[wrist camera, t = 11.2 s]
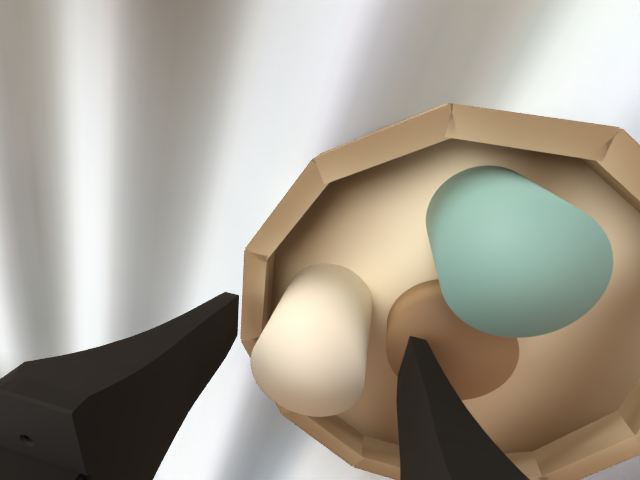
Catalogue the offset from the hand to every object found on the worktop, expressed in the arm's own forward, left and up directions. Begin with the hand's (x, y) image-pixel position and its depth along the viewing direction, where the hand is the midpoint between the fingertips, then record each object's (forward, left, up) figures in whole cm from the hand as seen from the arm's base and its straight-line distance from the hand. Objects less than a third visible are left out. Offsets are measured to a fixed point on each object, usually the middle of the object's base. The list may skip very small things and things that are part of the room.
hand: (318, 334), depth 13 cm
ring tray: (-5, 0, -3) cm, 6 cm away
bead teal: (-5, -5, -2) cm, 8 cm away
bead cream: (0, 0, -2) cm, 2 cm away
